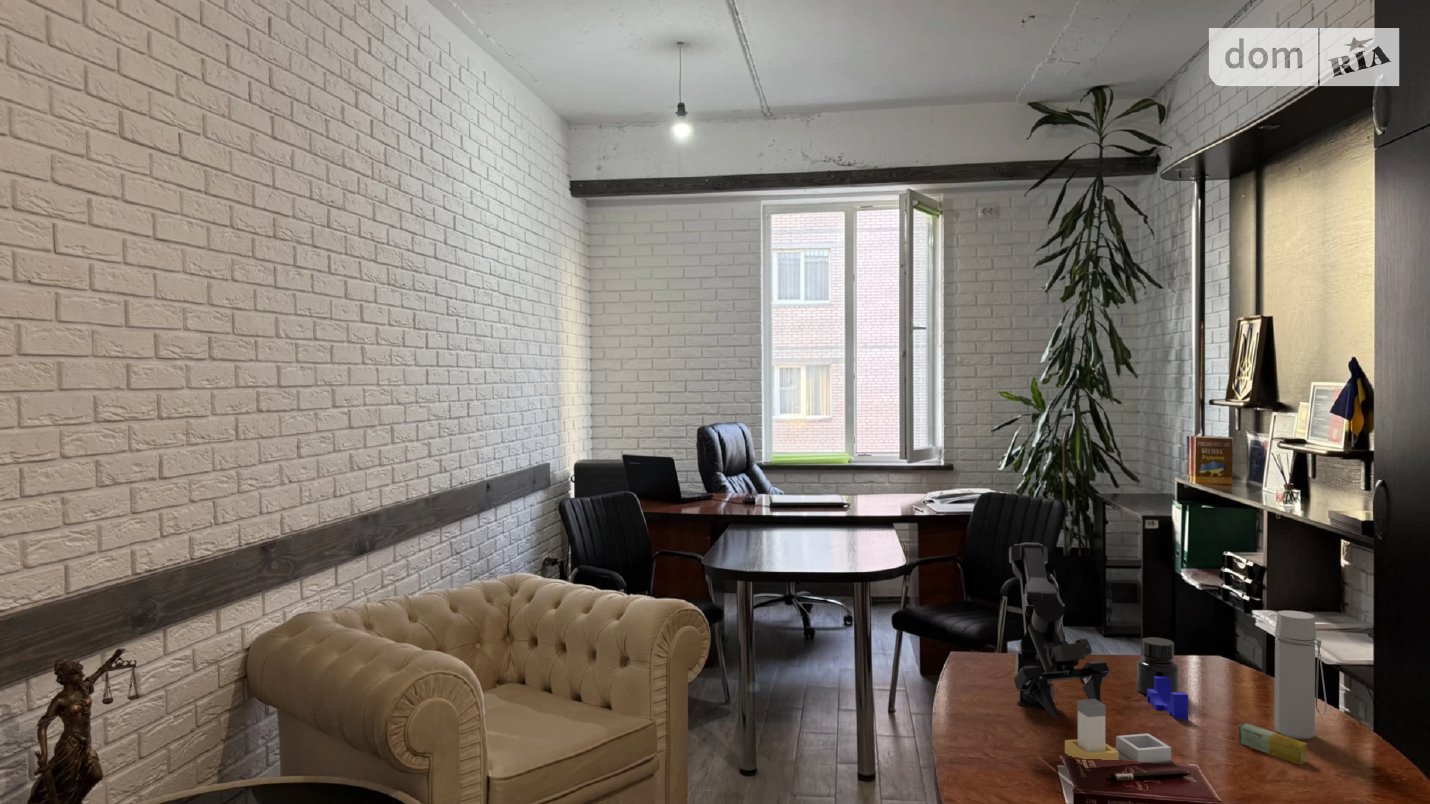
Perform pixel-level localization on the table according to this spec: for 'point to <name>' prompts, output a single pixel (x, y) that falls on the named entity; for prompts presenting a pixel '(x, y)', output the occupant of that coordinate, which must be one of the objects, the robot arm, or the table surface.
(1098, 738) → the white plug
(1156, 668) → the ink bottle
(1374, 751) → the table surface
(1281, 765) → the table surface
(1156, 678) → the cable clip
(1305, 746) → the medication box
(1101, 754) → the socket board
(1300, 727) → the water bottle
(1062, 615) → the robot arm
